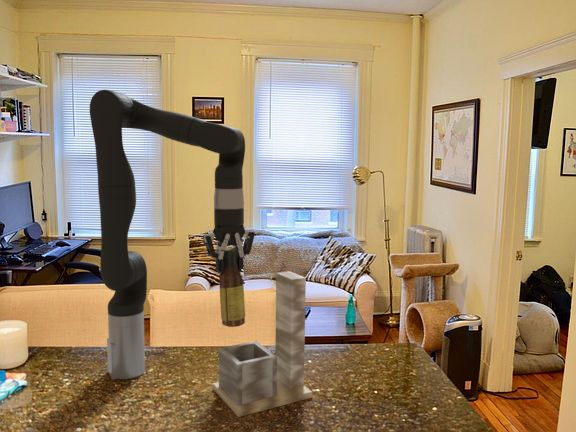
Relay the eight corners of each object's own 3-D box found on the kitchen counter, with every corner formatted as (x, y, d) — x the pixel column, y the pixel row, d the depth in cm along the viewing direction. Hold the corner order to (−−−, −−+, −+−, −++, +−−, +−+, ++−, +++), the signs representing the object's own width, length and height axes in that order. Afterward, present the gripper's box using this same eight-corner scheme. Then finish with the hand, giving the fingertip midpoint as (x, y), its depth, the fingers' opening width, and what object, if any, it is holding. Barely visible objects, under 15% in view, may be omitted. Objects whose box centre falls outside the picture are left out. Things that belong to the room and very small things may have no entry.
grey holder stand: (238, 417, 115) (238, 291, 111) (212, 388, 129) (212, 276, 125) (312, 397, 125) (314, 281, 121) (281, 373, 138) (282, 268, 135)
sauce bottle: (249, 321, 133) (248, 248, 130) (237, 329, 127) (236, 252, 125) (228, 318, 136) (226, 246, 133) (215, 325, 130) (213, 250, 127)
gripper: (247, 203, 134) (248, 266, 136) (197, 206, 127) (198, 272, 129) (260, 206, 128) (260, 272, 130) (207, 208, 121) (208, 278, 123)
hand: (229, 271), depth 129 cm, fingers closed on sauce bottle, 4 cm apart
